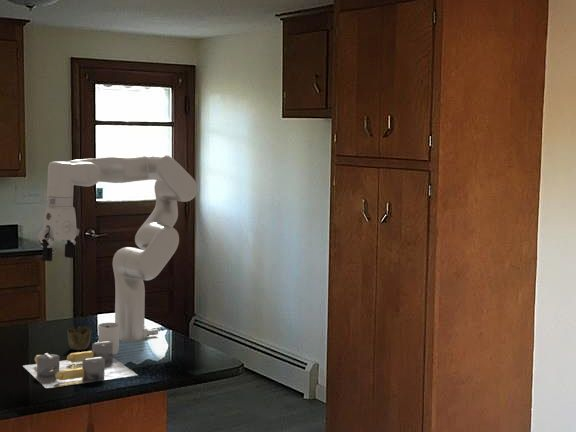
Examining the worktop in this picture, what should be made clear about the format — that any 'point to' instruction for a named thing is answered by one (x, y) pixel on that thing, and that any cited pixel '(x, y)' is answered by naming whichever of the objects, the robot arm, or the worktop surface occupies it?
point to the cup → (79, 338)
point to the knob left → (85, 370)
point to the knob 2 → (94, 352)
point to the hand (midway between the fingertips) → (58, 259)
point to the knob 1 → (47, 365)
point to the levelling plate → (111, 372)
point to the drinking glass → (109, 334)
